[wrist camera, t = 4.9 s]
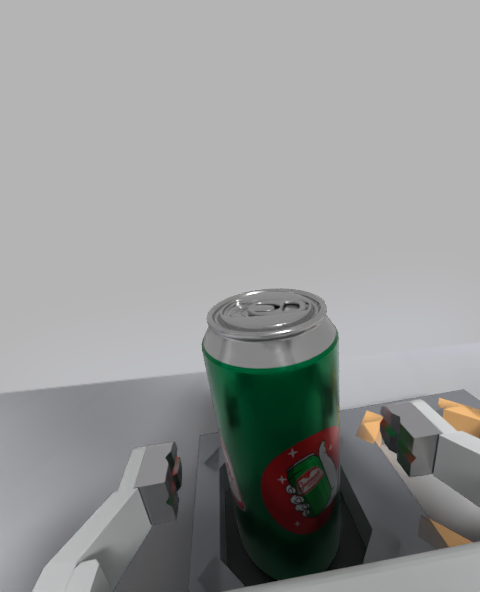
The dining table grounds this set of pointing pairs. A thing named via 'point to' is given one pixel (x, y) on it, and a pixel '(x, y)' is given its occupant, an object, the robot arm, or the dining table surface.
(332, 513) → the soda can
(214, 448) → the socket board
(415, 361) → the dining table surface
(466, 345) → the dining table surface
